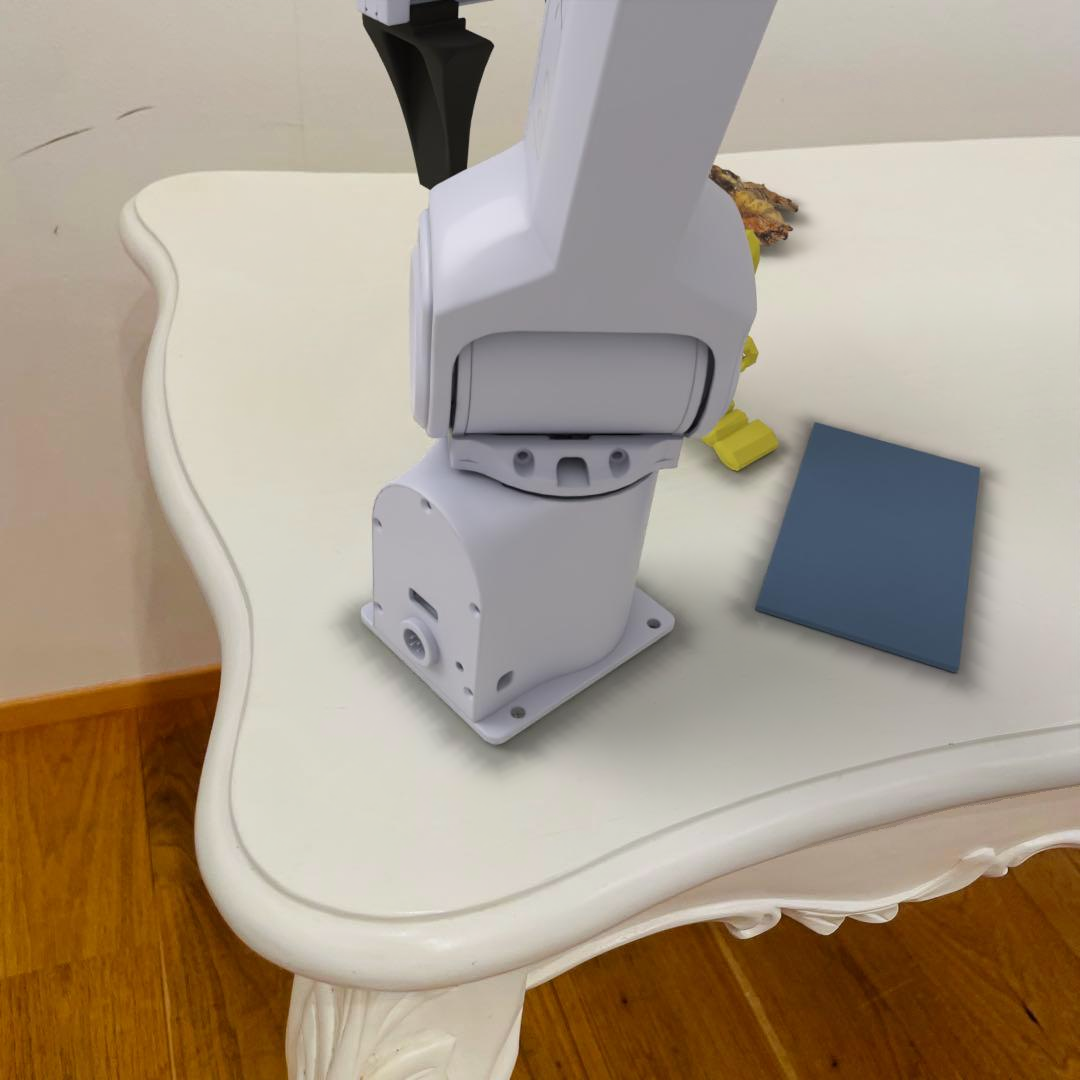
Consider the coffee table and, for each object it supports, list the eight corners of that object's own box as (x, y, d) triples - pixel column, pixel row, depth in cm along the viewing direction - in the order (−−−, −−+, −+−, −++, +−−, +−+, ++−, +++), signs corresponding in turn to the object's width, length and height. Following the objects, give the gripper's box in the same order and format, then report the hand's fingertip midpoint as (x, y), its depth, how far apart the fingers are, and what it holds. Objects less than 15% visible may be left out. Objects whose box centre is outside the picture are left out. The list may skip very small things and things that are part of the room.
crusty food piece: (644, 243, 67) (652, 195, 65) (677, 167, 76) (685, 123, 74) (784, 272, 66) (797, 224, 64) (801, 192, 75) (813, 148, 73)
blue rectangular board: (956, 673, 42) (959, 668, 42) (754, 609, 44) (756, 604, 44) (978, 472, 53) (980, 467, 52) (813, 426, 54) (815, 421, 54)
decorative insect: (625, 495, 57) (551, 312, 55) (667, 472, 59) (597, 294, 57) (819, 455, 46) (735, 228, 45) (863, 429, 48) (784, 209, 47)
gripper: (598, -221, 45) (564, 109, 54) (299, -212, 37) (316, 172, 46) (729, -187, 42) (668, 160, 51) (428, -169, 34) (420, 239, 43)
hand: (507, 170), depth 48 cm, fingers open, 7 cm apart
